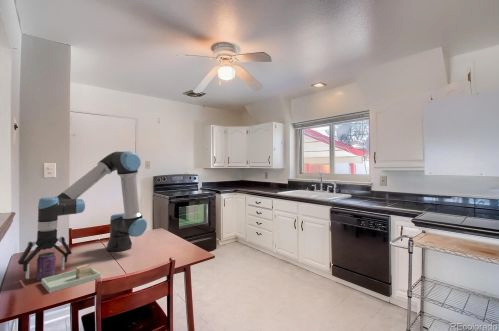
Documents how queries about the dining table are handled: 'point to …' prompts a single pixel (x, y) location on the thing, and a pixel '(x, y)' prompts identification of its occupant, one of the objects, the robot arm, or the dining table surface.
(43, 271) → the beverage can
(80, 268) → the oak block
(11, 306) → the dining table surface
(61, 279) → the pale green tray
